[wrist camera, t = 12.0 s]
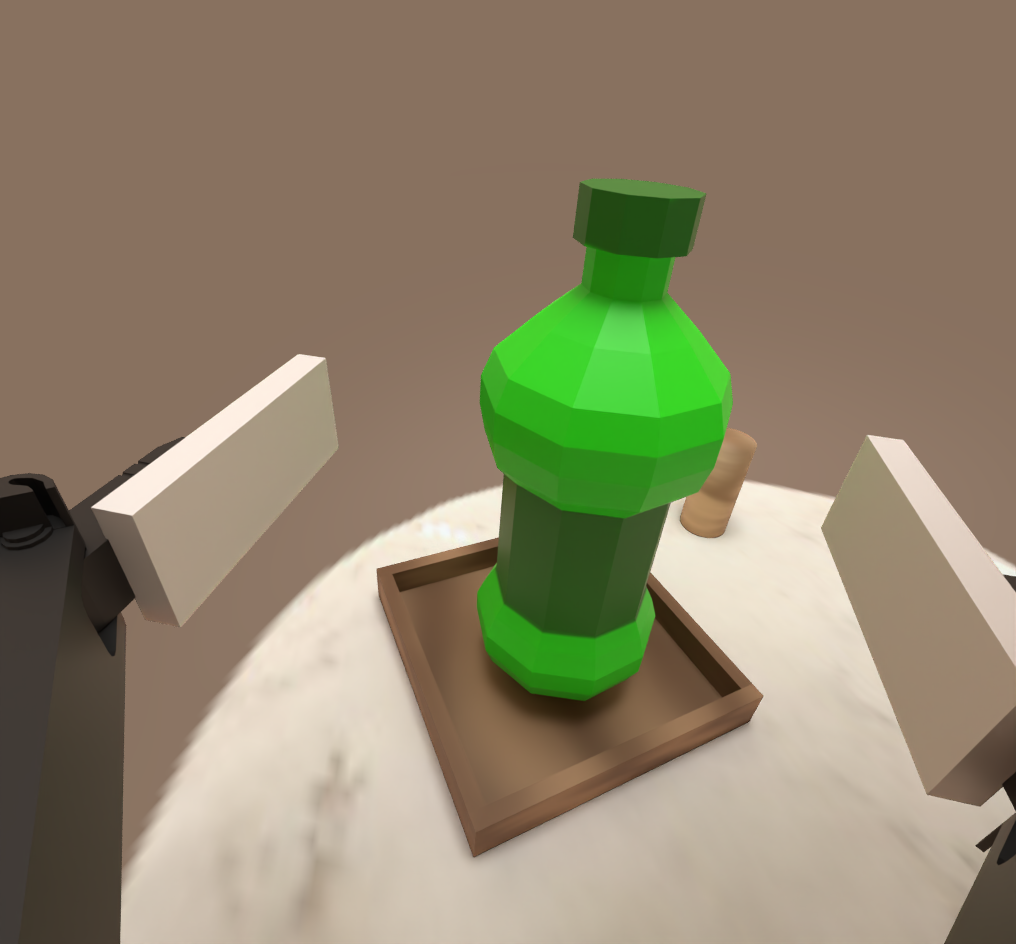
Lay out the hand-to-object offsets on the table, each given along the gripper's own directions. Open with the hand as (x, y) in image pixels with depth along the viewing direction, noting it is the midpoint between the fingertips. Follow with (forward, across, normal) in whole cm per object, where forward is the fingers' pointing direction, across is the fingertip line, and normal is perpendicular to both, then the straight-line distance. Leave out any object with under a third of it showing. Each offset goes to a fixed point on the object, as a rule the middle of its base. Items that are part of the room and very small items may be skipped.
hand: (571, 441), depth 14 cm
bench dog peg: (+26, +10, -21) cm, 35 cm away
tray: (+10, 0, -21) cm, 23 cm away
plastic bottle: (+9, 0, -20) cm, 23 cm away
